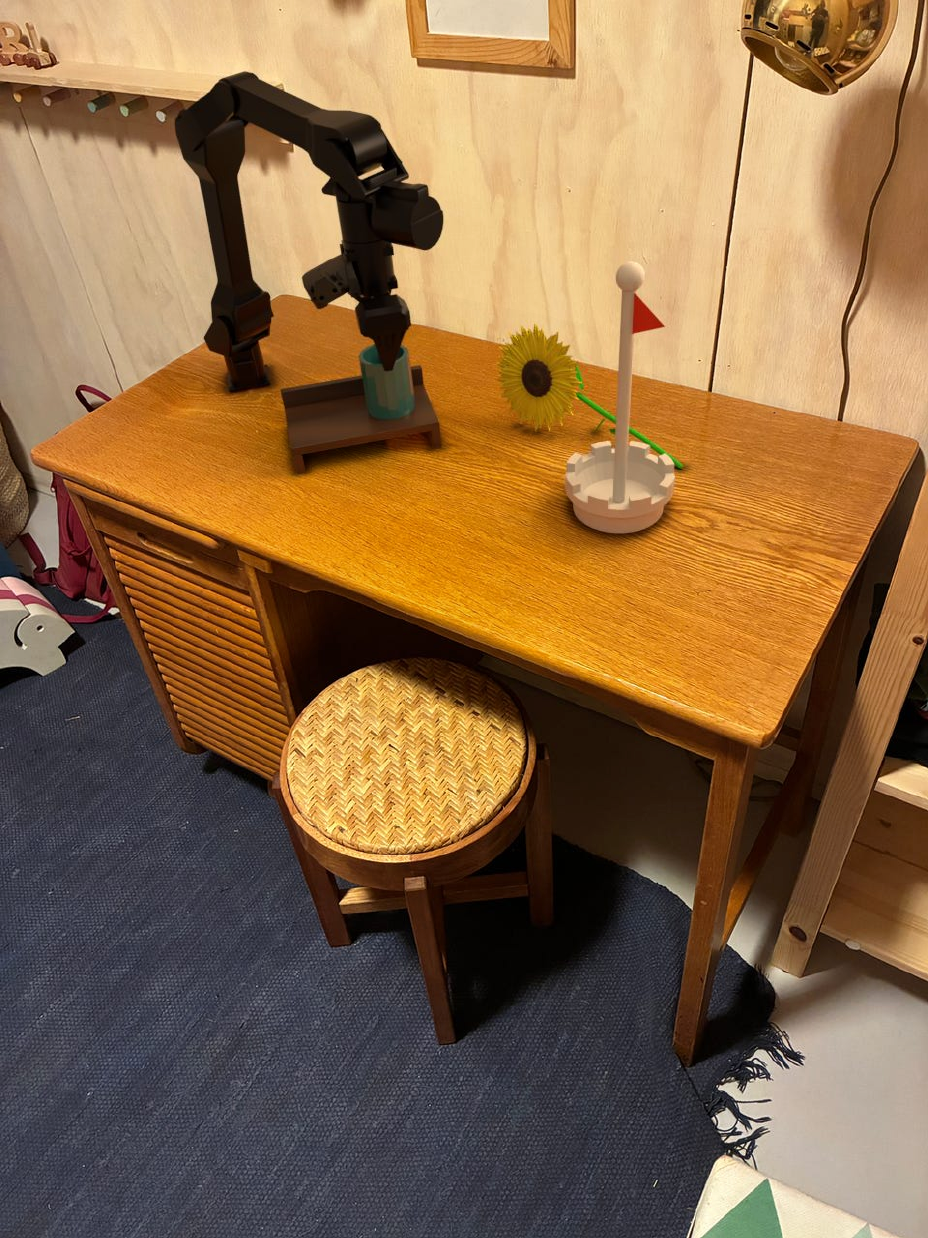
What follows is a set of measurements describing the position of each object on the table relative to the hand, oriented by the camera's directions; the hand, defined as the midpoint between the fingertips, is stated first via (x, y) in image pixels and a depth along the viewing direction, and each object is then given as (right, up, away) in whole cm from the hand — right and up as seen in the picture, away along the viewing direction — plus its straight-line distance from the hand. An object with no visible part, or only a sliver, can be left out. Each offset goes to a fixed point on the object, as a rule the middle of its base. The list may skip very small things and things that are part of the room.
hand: (382, 354), depth 121 cm
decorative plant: (+27, -11, +3) cm, 29 cm away
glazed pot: (+1, -6, +5) cm, 8 cm away
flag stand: (+30, -21, -9) cm, 37 cm away
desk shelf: (-3, -10, +8) cm, 13 cm away
